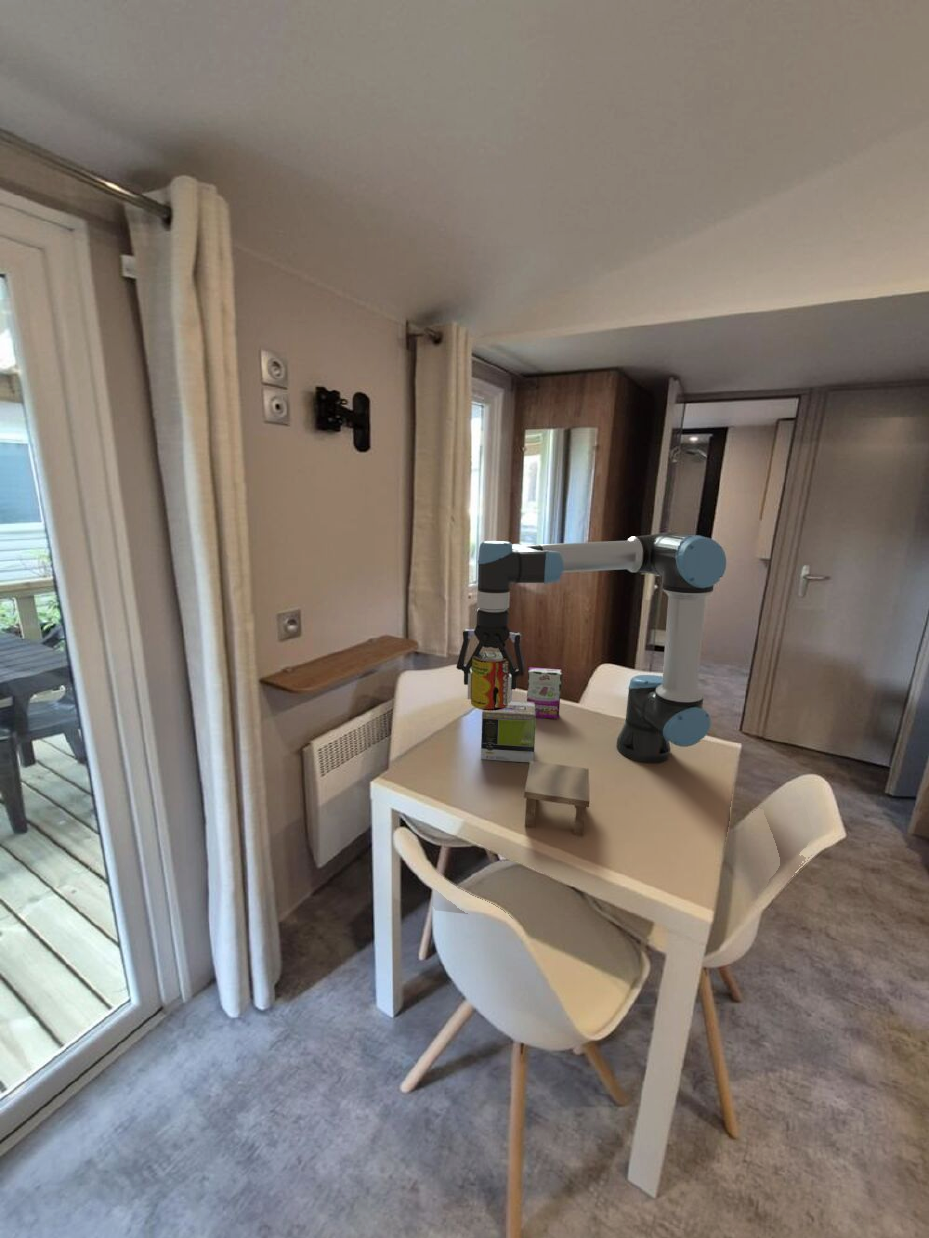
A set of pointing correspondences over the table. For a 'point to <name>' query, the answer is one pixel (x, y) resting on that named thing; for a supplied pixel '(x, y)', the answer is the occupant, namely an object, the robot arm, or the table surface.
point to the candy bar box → (545, 691)
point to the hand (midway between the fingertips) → (489, 699)
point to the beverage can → (489, 681)
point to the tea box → (509, 733)
